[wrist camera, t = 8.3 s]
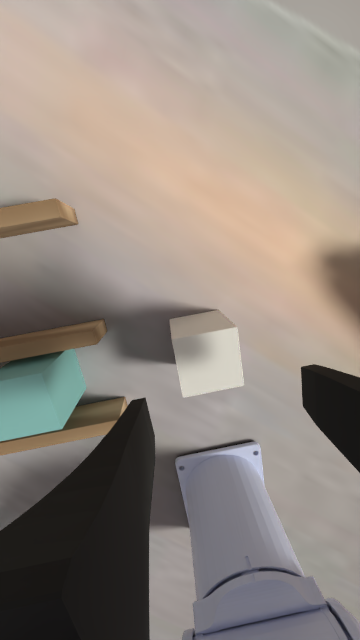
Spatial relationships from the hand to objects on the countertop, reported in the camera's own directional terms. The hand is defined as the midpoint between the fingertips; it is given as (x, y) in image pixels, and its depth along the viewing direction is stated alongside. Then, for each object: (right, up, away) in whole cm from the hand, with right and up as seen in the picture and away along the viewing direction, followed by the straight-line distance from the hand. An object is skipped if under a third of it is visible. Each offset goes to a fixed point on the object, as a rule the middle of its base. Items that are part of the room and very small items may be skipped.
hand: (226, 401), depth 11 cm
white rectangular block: (-1, +2, +9) cm, 9 cm away
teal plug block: (-12, -1, +9) cm, 15 cm away
